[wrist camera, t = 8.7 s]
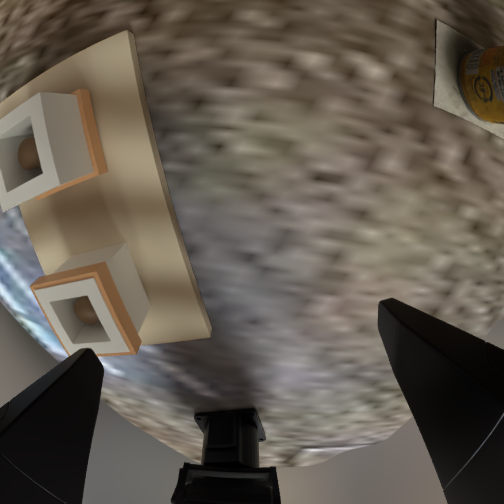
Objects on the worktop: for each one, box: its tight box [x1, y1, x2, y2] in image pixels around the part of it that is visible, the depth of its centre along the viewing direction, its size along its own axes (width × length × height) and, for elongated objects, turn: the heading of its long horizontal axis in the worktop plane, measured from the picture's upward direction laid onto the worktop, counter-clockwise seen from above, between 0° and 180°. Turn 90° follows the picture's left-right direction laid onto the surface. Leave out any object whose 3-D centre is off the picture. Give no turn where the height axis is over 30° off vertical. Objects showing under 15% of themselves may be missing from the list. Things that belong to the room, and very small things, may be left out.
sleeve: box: [0, 89, 108, 212], centre depth 13 cm, size 6×6×5 cm
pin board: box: [0, 30, 212, 346], centre depth 16 cm, size 22×12×5 cm, turn 12°
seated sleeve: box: [30, 243, 151, 357], centre depth 17 cm, size 6×6×5 cm
